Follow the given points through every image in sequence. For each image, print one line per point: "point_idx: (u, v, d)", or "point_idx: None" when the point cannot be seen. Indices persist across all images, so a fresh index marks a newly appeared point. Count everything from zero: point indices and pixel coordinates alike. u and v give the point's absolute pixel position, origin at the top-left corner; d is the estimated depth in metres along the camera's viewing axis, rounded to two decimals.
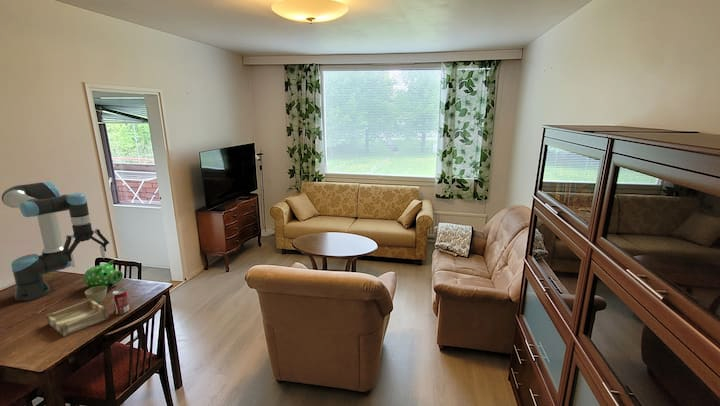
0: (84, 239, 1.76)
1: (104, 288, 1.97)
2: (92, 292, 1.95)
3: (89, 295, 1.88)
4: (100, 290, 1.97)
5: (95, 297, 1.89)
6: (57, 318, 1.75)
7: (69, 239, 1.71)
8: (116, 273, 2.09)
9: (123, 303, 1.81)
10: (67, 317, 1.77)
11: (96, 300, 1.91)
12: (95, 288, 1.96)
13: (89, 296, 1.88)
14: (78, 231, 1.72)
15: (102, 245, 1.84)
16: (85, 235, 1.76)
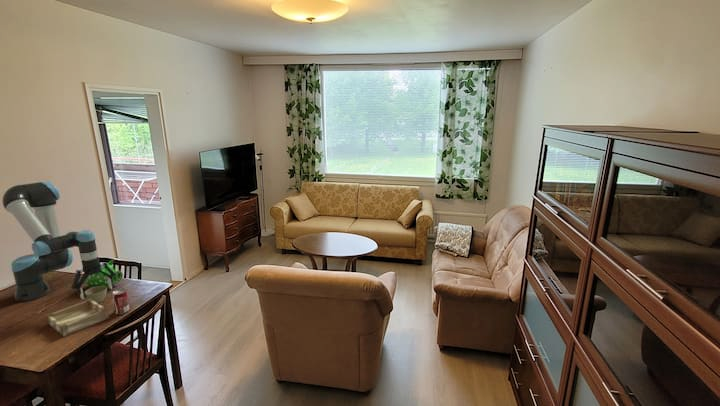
0: (92, 273, 1.89)
1: (104, 288, 1.97)
2: (92, 292, 1.95)
3: (89, 295, 1.88)
4: (100, 290, 1.97)
5: (95, 297, 1.89)
6: (57, 318, 1.75)
7: (79, 274, 1.84)
8: (116, 273, 2.09)
9: (123, 303, 1.81)
10: (67, 317, 1.77)
11: (96, 300, 1.91)
12: (95, 288, 1.96)
13: (89, 296, 1.88)
14: (86, 266, 1.85)
15: (109, 277, 1.97)
16: (93, 269, 1.89)
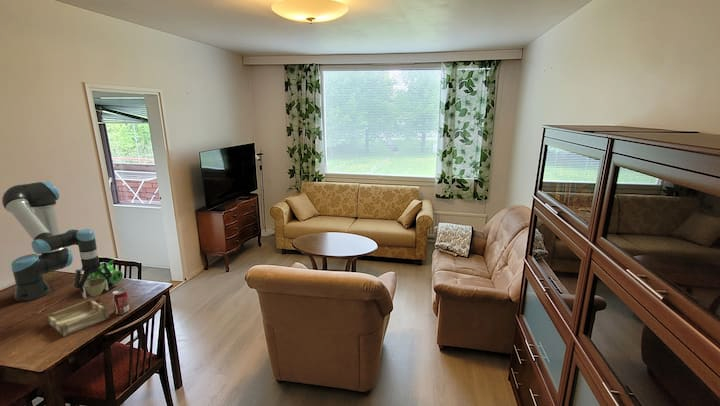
0: (92, 271, 1.89)
1: (102, 281, 1.96)
2: (90, 284, 1.94)
3: (87, 287, 1.87)
4: (98, 282, 1.97)
5: (93, 290, 1.89)
6: (57, 318, 1.75)
7: (79, 273, 1.84)
8: (116, 273, 2.09)
9: (123, 303, 1.81)
10: (67, 317, 1.77)
11: (94, 292, 1.90)
12: (93, 280, 1.95)
13: (87, 288, 1.88)
14: (86, 265, 1.85)
15: (105, 278, 1.96)
16: (93, 267, 1.89)
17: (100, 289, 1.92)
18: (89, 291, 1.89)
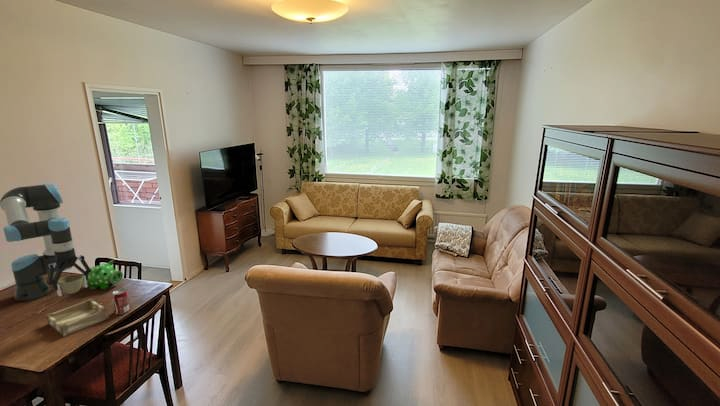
0: (67, 266, 1.67)
1: (80, 277, 1.75)
2: (66, 281, 1.72)
3: (62, 284, 1.65)
4: (76, 279, 1.75)
5: (68, 287, 1.67)
6: (57, 318, 1.75)
7: (51, 268, 1.62)
8: (116, 273, 2.09)
9: (123, 303, 1.81)
10: (67, 317, 1.77)
11: (70, 290, 1.68)
12: (70, 276, 1.74)
13: (62, 285, 1.66)
14: (60, 258, 1.63)
15: (83, 274, 1.74)
16: (68, 261, 1.67)
17: (77, 286, 1.70)
18: (64, 288, 1.67)
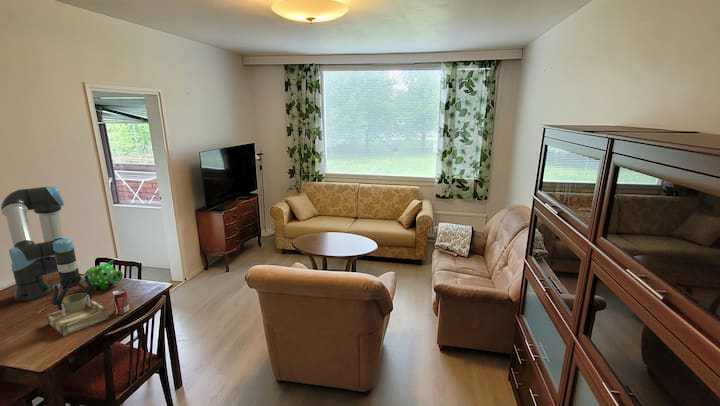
0: (71, 286, 1.70)
1: (84, 296, 1.77)
2: (70, 300, 1.75)
3: (66, 304, 1.68)
4: (79, 298, 1.77)
5: (72, 307, 1.69)
6: (57, 318, 1.75)
7: (56, 288, 1.65)
8: (116, 273, 2.09)
9: (123, 303, 1.81)
10: (67, 317, 1.77)
11: (74, 309, 1.71)
12: (74, 296, 1.76)
13: (66, 305, 1.68)
14: (64, 279, 1.66)
15: (87, 293, 1.77)
16: (72, 281, 1.70)
17: (81, 305, 1.72)
18: (69, 308, 1.69)
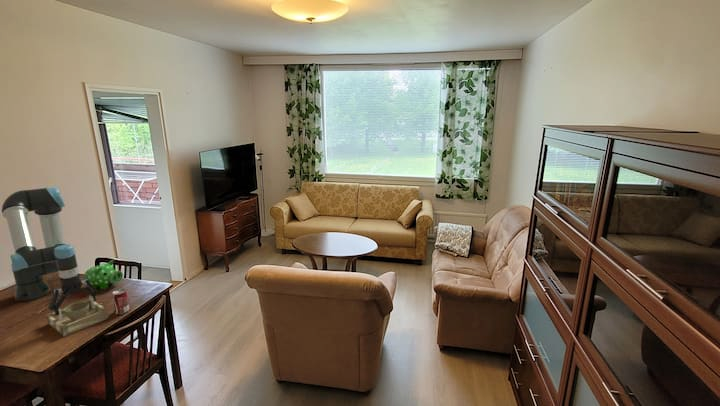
0: (72, 291, 1.71)
1: (86, 304, 1.79)
2: (73, 308, 1.77)
3: (68, 313, 1.70)
4: (82, 306, 1.79)
5: (75, 315, 1.71)
6: (57, 318, 1.75)
7: (56, 293, 1.65)
8: (116, 273, 2.09)
9: (123, 303, 1.81)
10: (67, 317, 1.77)
11: (77, 318, 1.72)
12: (76, 304, 1.78)
13: (68, 314, 1.70)
14: (65, 284, 1.67)
15: None
16: (73, 287, 1.71)
17: (83, 314, 1.74)
18: (71, 316, 1.71)
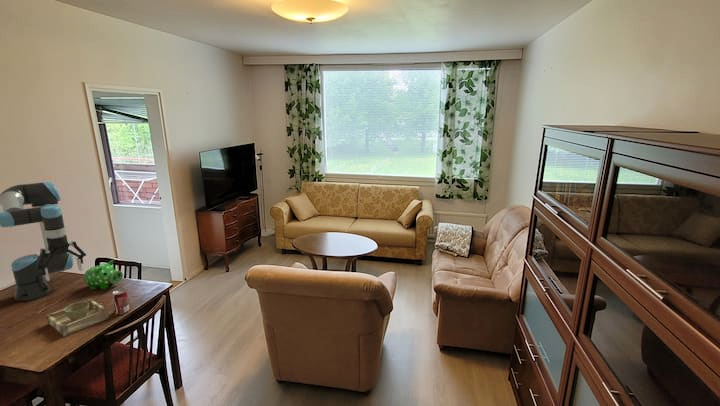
0: (59, 252, 1.72)
1: (86, 304, 1.79)
2: (73, 308, 1.77)
3: (68, 313, 1.70)
4: (82, 306, 1.79)
5: (75, 315, 1.71)
6: (57, 318, 1.75)
7: (43, 253, 1.66)
8: (116, 273, 2.09)
9: (123, 303, 1.81)
10: (67, 317, 1.77)
11: (77, 318, 1.72)
12: (76, 304, 1.78)
13: (68, 314, 1.70)
14: (52, 244, 1.68)
15: (79, 257, 1.80)
16: (60, 248, 1.72)
17: (83, 314, 1.74)
18: (71, 316, 1.71)
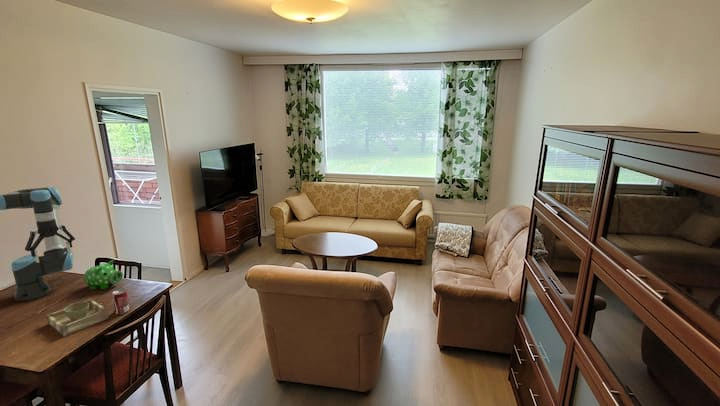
0: (49, 235, 1.79)
1: (86, 304, 1.79)
2: (73, 308, 1.77)
3: (68, 313, 1.70)
4: (82, 306, 1.79)
5: (75, 315, 1.71)
6: (57, 318, 1.75)
7: (33, 235, 1.73)
8: (116, 273, 2.09)
9: (123, 303, 1.81)
10: (67, 317, 1.77)
11: (77, 318, 1.72)
12: (76, 304, 1.78)
13: (68, 314, 1.70)
14: (41, 227, 1.75)
15: (68, 241, 1.87)
16: (50, 231, 1.79)
17: (83, 314, 1.74)
18: (71, 316, 1.71)
